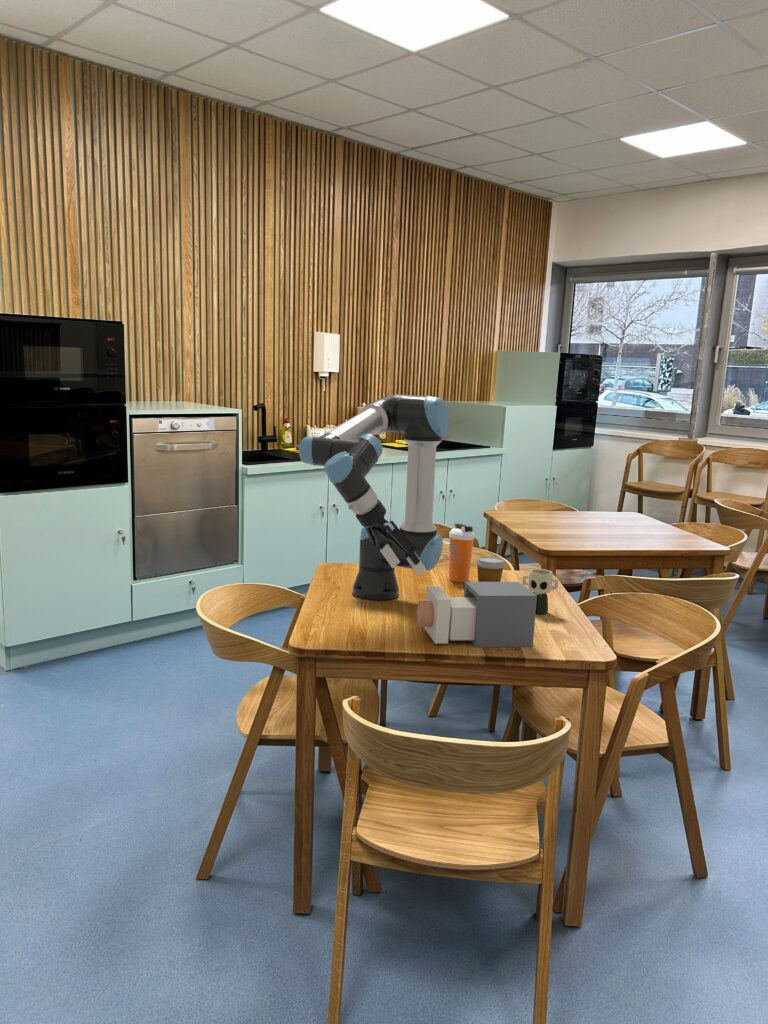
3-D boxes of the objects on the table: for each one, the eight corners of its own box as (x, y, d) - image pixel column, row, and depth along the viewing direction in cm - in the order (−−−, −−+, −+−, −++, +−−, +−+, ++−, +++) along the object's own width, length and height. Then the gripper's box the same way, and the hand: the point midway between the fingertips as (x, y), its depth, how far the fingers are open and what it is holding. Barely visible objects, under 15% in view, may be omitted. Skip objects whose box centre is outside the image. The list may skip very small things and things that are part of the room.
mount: (475, 647, 200) (479, 595, 198) (461, 630, 214) (464, 581, 211) (532, 646, 203) (537, 595, 200) (514, 629, 216) (518, 581, 214)
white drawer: (423, 643, 198) (426, 599, 196) (413, 627, 210) (416, 586, 208) (500, 642, 202) (503, 599, 200) (485, 627, 214) (488, 586, 212)
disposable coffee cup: (501, 591, 257) (504, 557, 255) (503, 599, 248) (505, 563, 246) (473, 589, 258) (476, 555, 256) (474, 597, 248) (476, 561, 246)
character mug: (518, 612, 234) (521, 571, 232) (522, 606, 241) (525, 566, 238) (553, 617, 230) (557, 576, 228) (556, 611, 237) (560, 571, 235)
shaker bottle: (457, 575, 275) (460, 522, 272) (476, 581, 269) (480, 526, 266) (441, 579, 269) (444, 524, 266) (460, 584, 263) (464, 528, 259)
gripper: (335, 512, 204) (376, 570, 211) (379, 520, 182) (423, 585, 189) (355, 495, 206) (395, 553, 214) (401, 501, 184) (443, 566, 192)
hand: (408, 568), depth 201 cm, fingers open, 13 cm apart
